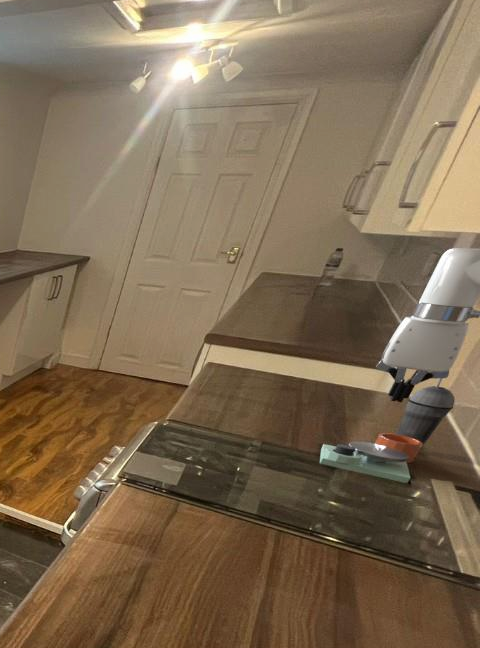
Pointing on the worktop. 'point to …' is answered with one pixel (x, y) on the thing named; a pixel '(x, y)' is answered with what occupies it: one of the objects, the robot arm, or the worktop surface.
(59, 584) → the worktop surface
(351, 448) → the tare button
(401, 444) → the bowl
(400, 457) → the scale pan
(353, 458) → the scale
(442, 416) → the beverage cup
